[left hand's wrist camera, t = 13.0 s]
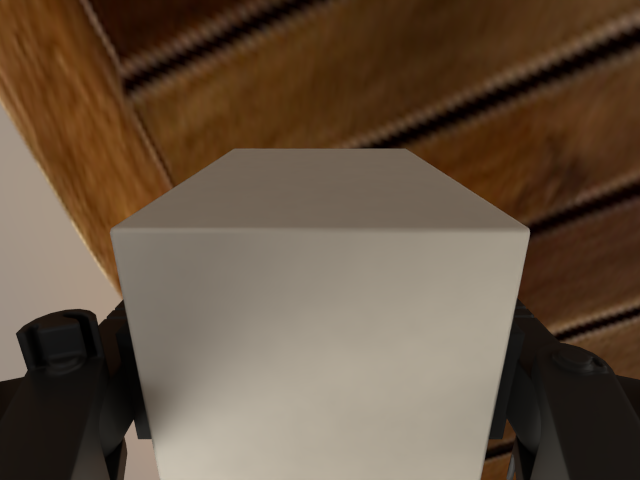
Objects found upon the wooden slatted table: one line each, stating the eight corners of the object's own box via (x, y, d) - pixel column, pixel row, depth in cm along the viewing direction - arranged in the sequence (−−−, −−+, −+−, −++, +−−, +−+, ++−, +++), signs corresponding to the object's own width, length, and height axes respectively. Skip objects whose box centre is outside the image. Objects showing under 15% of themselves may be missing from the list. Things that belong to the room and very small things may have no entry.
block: (233, 148, 14) (106, 228, 6) (407, 148, 14) (533, 228, 6) (246, 324, 17) (173, 554, 9) (393, 324, 17) (466, 555, 9)
